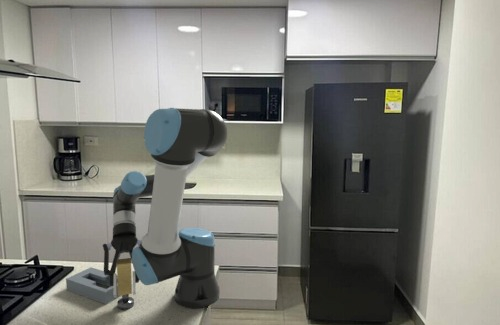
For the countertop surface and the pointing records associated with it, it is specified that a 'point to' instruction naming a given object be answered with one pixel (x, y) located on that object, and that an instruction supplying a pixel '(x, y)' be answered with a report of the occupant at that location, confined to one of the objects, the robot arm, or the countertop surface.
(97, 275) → the keyhole block
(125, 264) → the peg
